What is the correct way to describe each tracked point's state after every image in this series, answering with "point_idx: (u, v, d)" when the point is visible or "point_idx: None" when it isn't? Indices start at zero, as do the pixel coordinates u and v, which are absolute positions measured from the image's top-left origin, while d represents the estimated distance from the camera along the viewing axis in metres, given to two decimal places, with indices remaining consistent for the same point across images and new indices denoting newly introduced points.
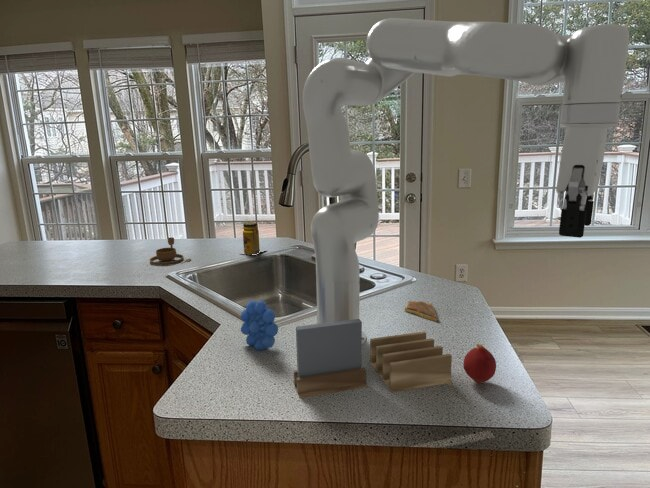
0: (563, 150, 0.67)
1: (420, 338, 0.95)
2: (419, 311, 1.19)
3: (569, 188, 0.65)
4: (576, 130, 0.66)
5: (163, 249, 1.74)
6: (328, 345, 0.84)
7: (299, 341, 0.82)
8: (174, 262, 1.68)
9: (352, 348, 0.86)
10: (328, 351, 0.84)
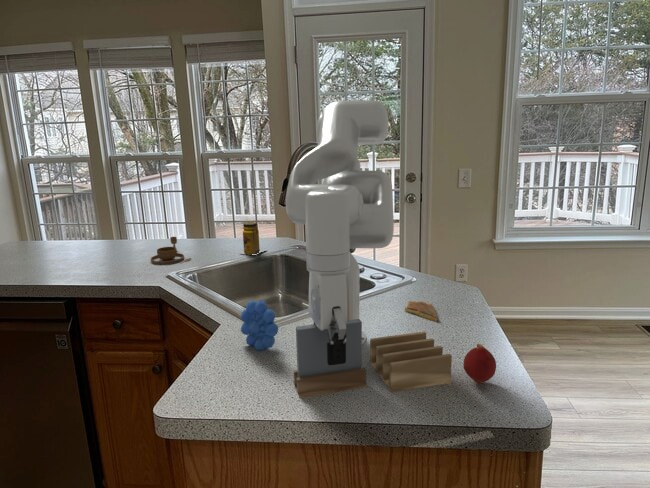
0: (322, 295, 0.77)
1: (420, 338, 0.95)
2: (420, 311, 1.19)
3: (339, 331, 0.75)
4: (330, 279, 0.77)
5: (164, 248, 1.75)
6: None
7: (299, 341, 0.82)
8: (174, 261, 1.69)
9: (352, 348, 0.86)
10: None
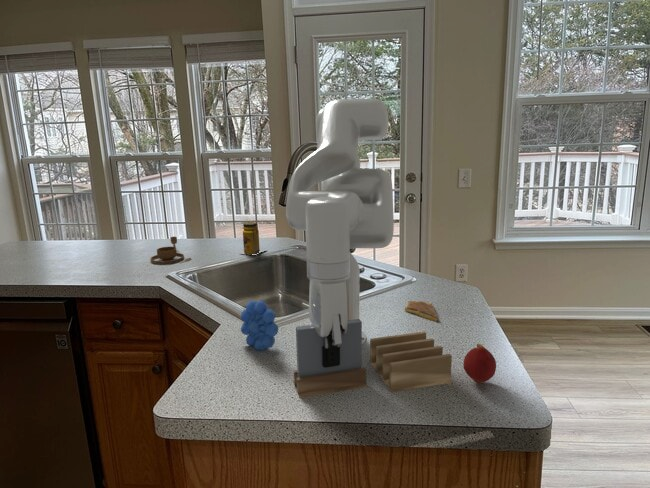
0: (322, 303, 0.78)
1: (420, 338, 0.95)
2: (420, 311, 1.19)
3: None
4: (330, 287, 0.77)
5: (164, 248, 1.75)
6: None
7: (299, 341, 0.82)
8: (174, 261, 1.69)
9: (352, 348, 0.86)
10: None
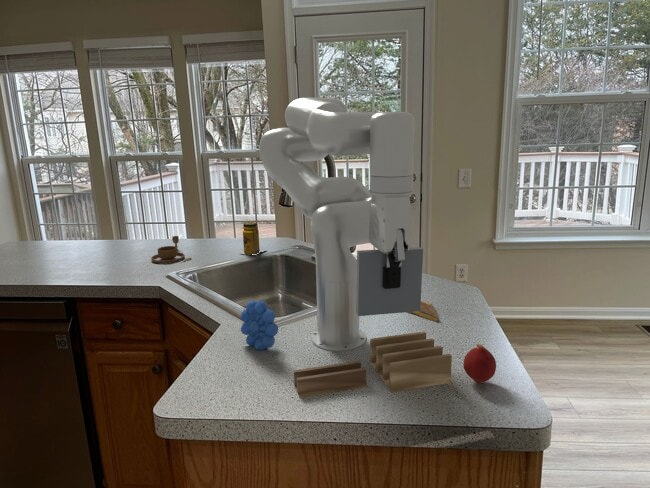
0: (386, 217, 0.77)
1: (420, 338, 0.95)
2: (420, 311, 1.19)
3: (397, 261, 0.78)
4: (395, 200, 0.77)
5: (165, 248, 1.76)
6: None
7: (360, 264, 0.82)
8: (174, 261, 1.69)
9: (413, 276, 0.85)
10: None
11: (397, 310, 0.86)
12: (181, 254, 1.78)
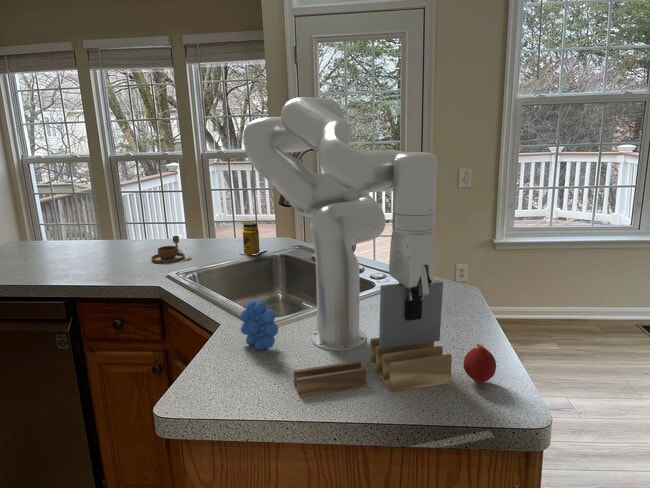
0: (412, 254, 0.80)
1: None
2: None
3: (421, 296, 0.81)
4: (420, 238, 0.79)
5: (165, 247, 1.76)
6: None
7: (384, 299, 0.85)
8: (174, 260, 1.70)
9: (433, 308, 0.88)
10: None
11: (418, 341, 0.89)
12: (181, 254, 1.78)
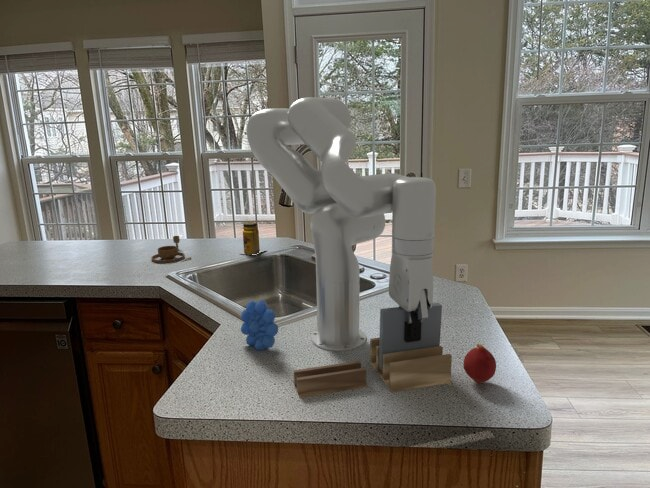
0: (411, 278, 0.81)
1: None
2: None
3: (421, 319, 0.83)
4: (419, 262, 0.81)
5: (165, 247, 1.76)
6: None
7: (384, 322, 0.86)
8: (174, 260, 1.70)
9: (432, 331, 0.89)
10: None
11: None
12: (181, 254, 1.78)
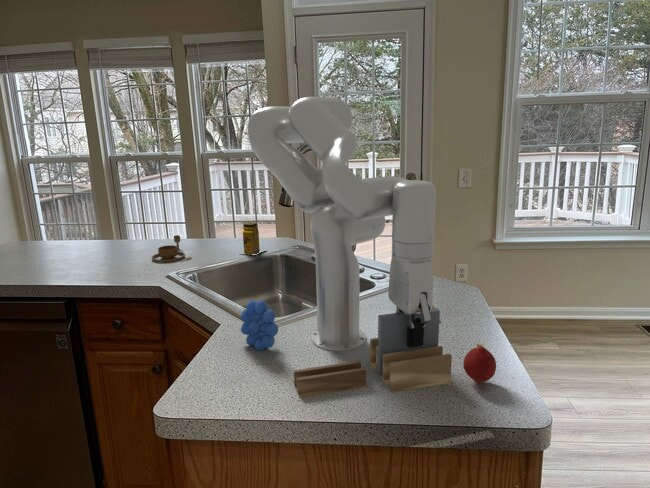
0: (411, 281, 0.81)
1: None
2: None
3: (423, 322, 0.81)
4: (419, 266, 0.81)
5: (166, 247, 1.77)
6: None
7: (382, 329, 0.86)
8: (174, 260, 1.70)
9: (430, 336, 0.90)
10: None
11: None
12: (182, 253, 1.79)
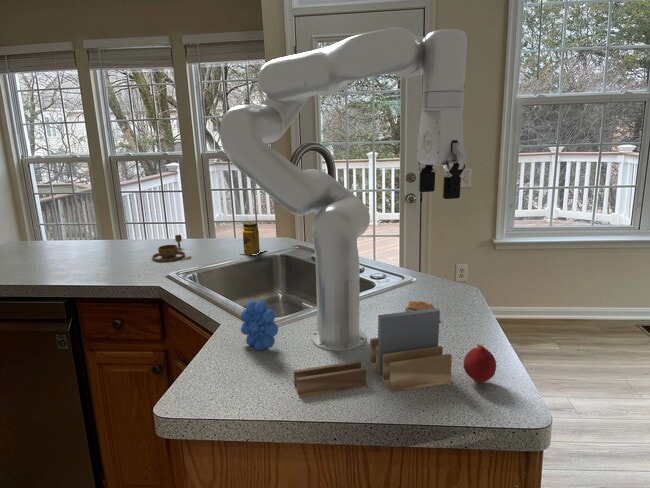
0: (442, 129, 0.82)
1: None
2: None
3: (461, 158, 0.80)
4: (450, 112, 0.82)
5: (166, 246, 1.78)
6: (408, 333, 0.88)
7: (382, 329, 0.86)
8: (173, 259, 1.71)
9: (430, 336, 0.90)
10: (408, 339, 0.88)
11: None
12: (182, 253, 1.80)
